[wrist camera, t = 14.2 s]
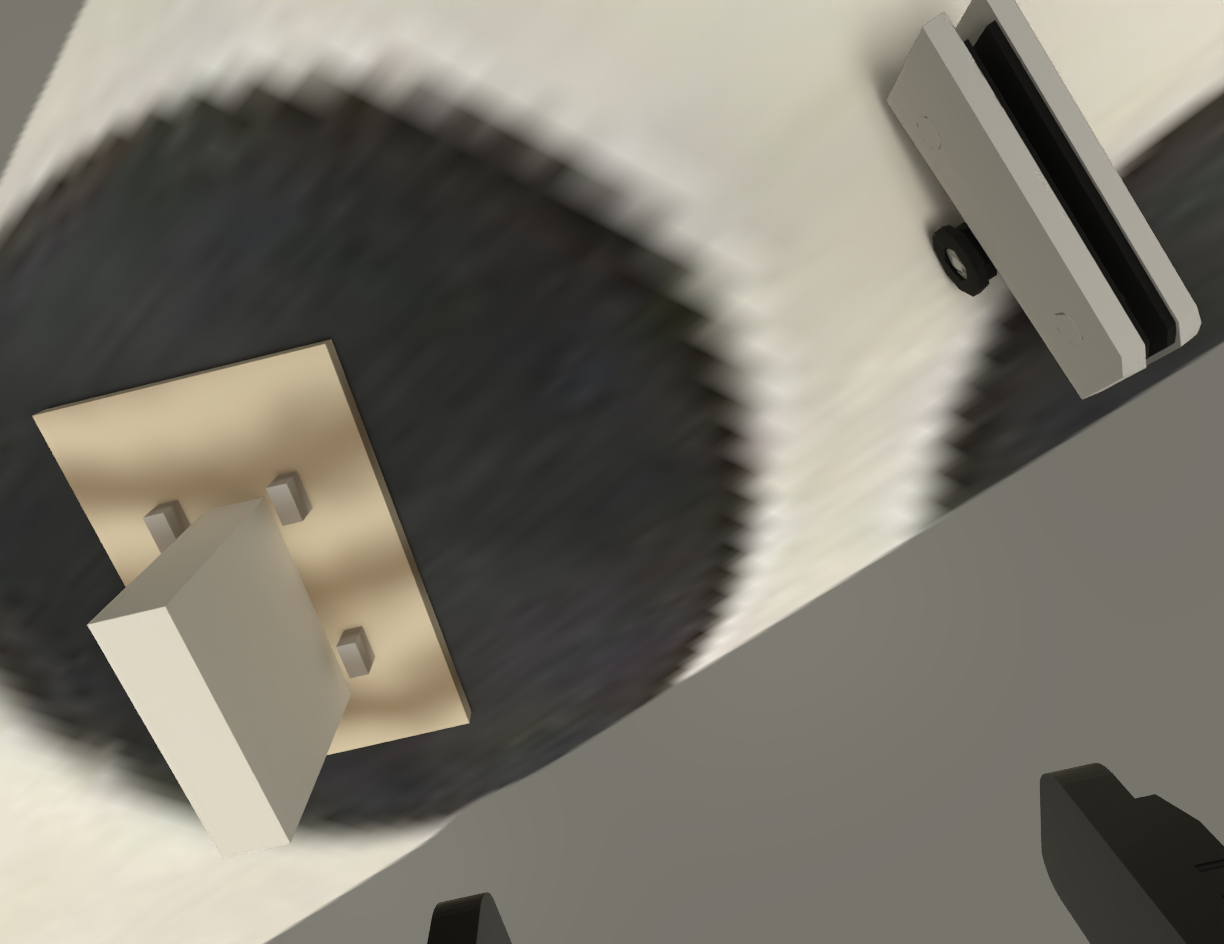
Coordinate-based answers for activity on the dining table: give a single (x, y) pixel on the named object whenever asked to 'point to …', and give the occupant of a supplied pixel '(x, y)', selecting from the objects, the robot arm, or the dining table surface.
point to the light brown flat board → (274, 513)
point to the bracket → (1038, 198)
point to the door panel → (230, 674)
